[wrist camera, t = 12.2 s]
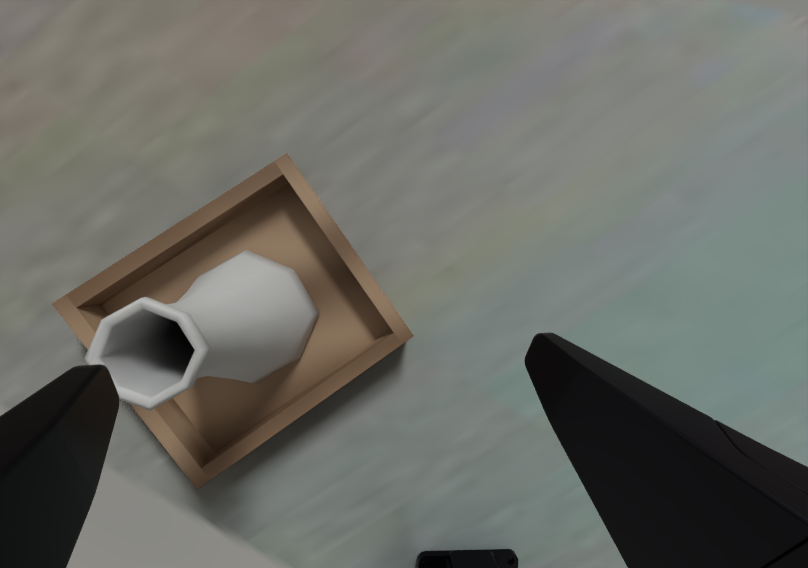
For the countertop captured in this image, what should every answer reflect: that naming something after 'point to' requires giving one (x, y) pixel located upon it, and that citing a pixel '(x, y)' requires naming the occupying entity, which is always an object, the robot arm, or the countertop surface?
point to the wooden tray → (278, 241)
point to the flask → (207, 331)
